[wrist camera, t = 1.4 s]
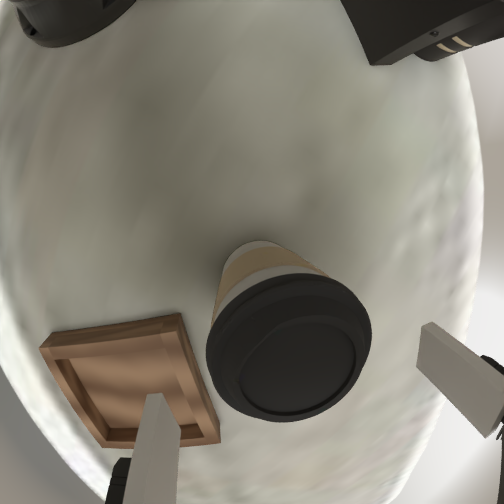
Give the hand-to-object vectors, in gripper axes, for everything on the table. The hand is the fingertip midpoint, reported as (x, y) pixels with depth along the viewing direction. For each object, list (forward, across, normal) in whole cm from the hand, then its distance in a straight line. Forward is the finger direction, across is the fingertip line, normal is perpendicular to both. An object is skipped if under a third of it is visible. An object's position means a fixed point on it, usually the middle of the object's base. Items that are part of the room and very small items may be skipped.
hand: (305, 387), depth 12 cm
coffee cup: (+15, 0, 0) cm, 15 cm away
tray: (+15, -16, -10) cm, 24 cm away
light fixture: (+15, +22, +25) cm, 36 cm away
